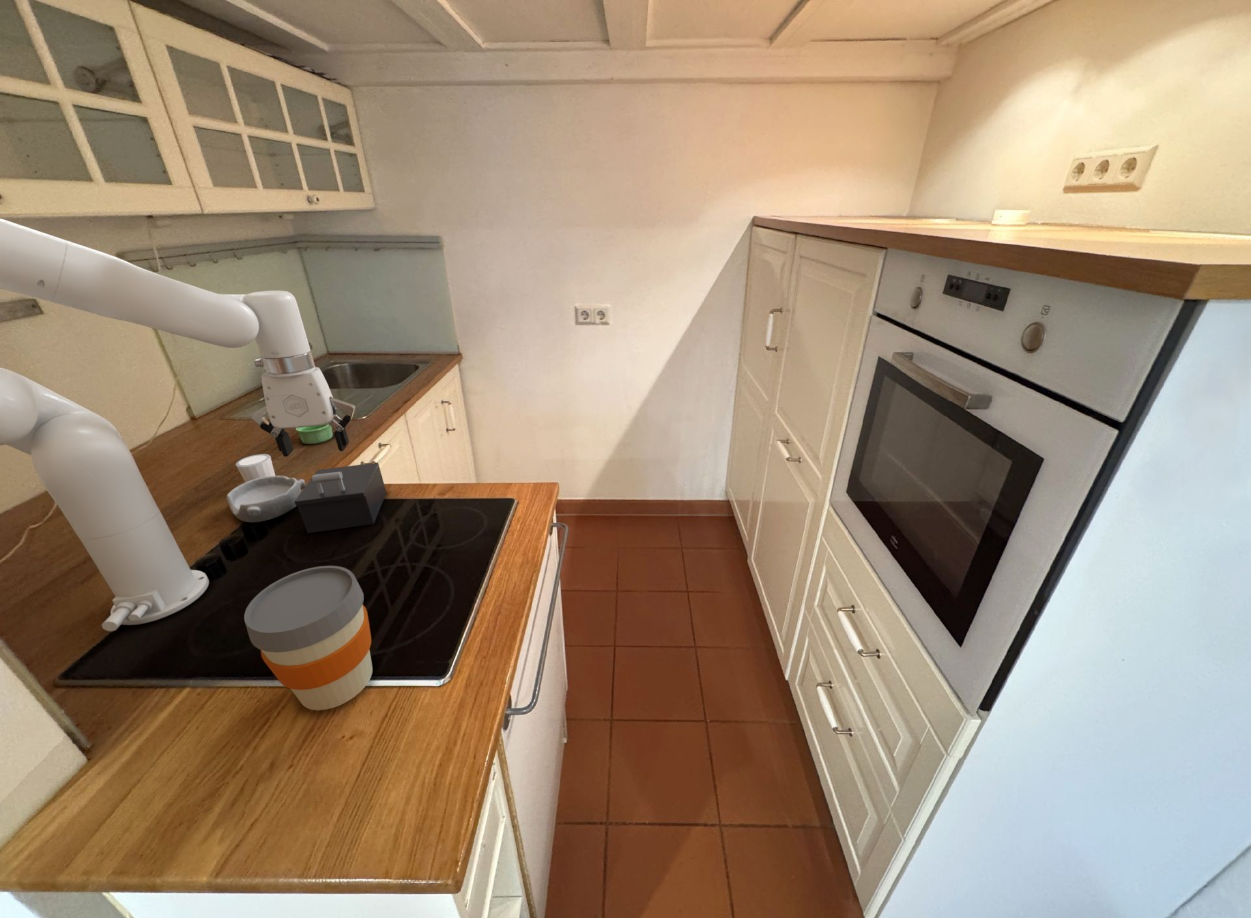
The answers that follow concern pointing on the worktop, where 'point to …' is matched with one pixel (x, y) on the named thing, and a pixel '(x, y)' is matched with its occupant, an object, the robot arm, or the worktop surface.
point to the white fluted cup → (255, 467)
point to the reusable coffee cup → (314, 635)
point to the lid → (338, 484)
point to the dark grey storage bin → (345, 509)
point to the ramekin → (315, 434)
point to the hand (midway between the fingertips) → (316, 451)
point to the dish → (264, 498)
